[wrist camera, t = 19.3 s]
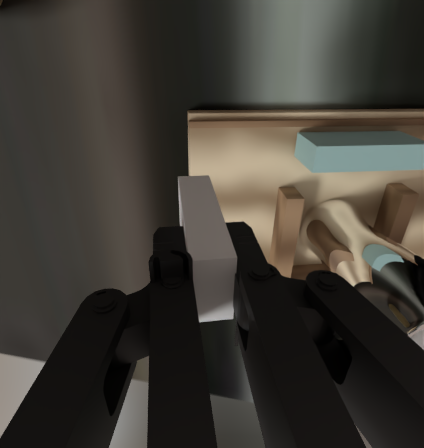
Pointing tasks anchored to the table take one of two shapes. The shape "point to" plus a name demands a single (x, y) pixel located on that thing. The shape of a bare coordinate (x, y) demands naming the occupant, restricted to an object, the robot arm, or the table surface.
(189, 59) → the table surface
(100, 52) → the table surface
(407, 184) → the board
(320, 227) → the beer glass
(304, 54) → the table surface
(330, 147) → the block
